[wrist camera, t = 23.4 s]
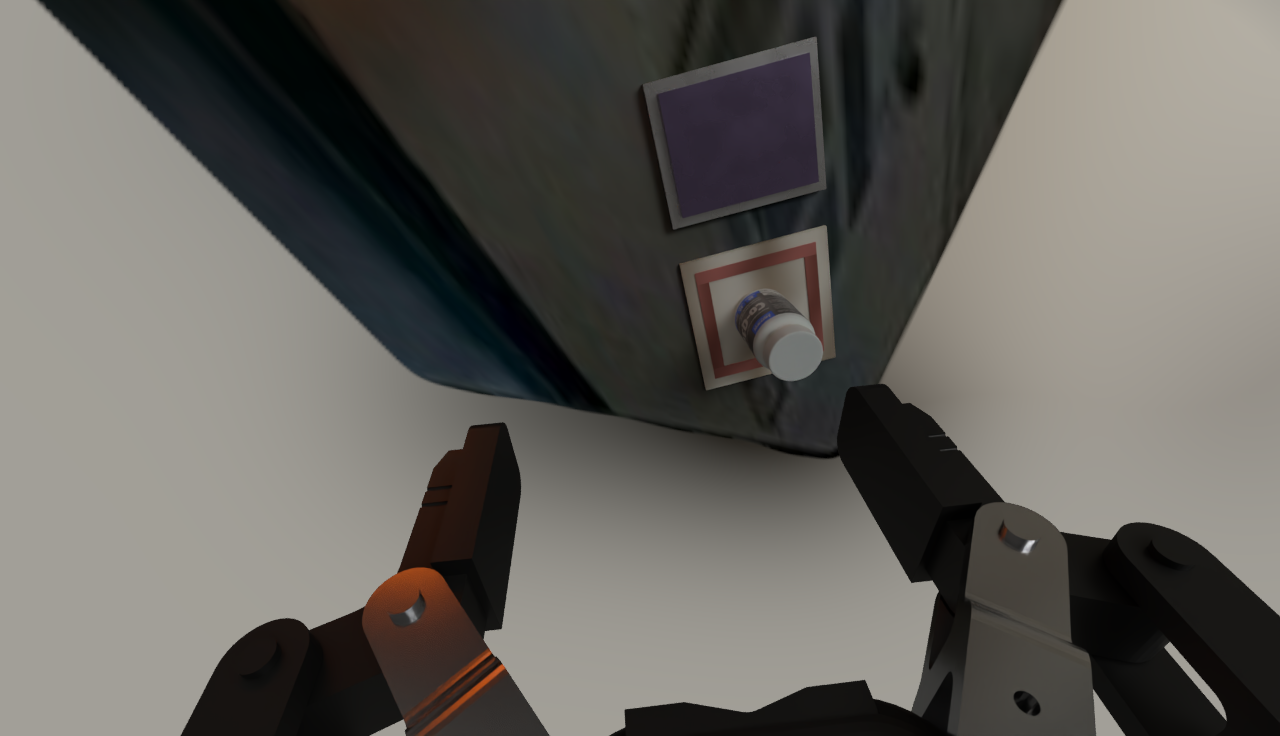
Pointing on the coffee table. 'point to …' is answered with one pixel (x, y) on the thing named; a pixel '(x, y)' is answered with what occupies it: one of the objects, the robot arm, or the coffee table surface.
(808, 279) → the marked board
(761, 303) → the pill bottle
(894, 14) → the coffee table surface
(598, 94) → the coffee table surface
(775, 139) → the ink pad
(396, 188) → the coffee table surface
